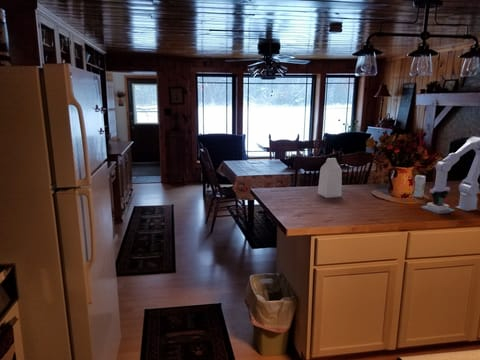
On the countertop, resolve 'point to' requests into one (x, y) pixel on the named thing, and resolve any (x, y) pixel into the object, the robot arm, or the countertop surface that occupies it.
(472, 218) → the countertop surface
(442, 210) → the socket plate
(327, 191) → the milk
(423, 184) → the syrup box
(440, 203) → the plug
